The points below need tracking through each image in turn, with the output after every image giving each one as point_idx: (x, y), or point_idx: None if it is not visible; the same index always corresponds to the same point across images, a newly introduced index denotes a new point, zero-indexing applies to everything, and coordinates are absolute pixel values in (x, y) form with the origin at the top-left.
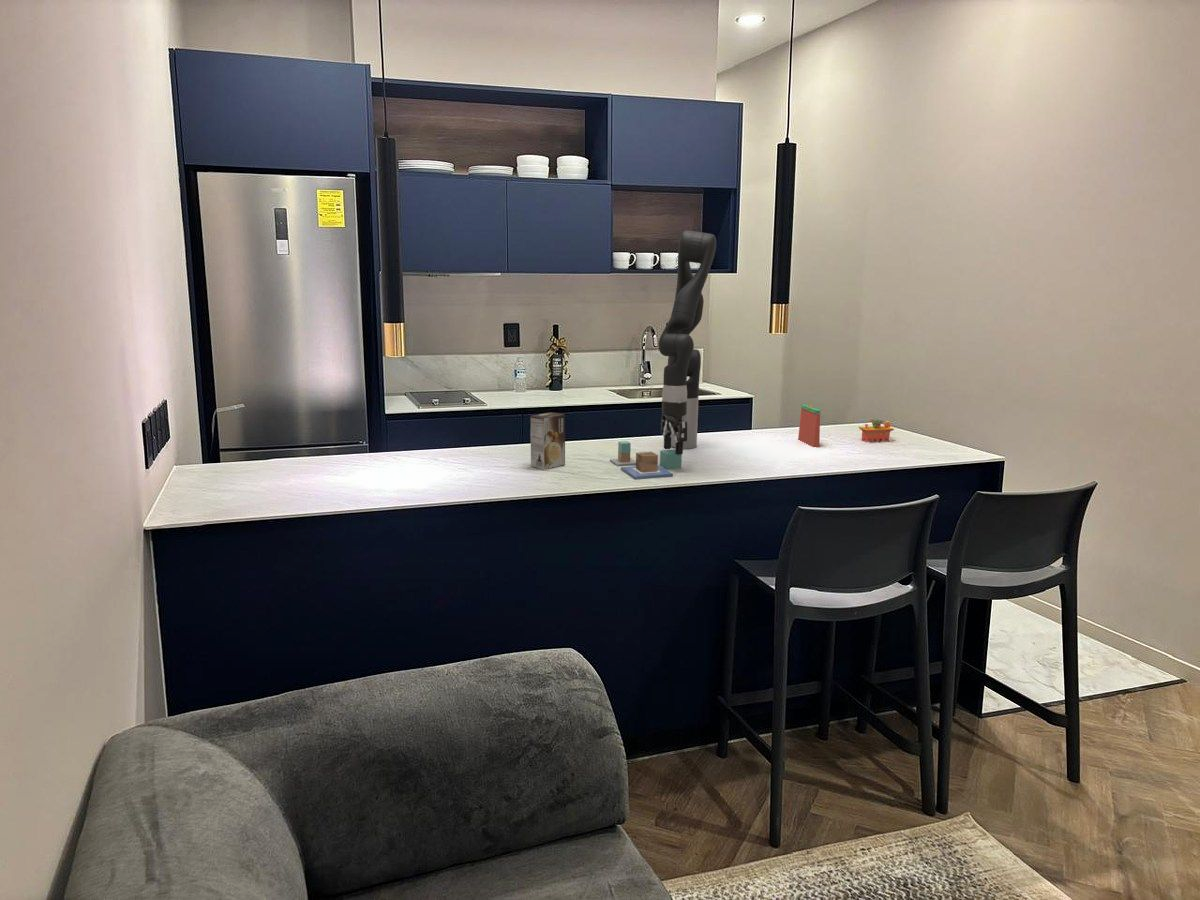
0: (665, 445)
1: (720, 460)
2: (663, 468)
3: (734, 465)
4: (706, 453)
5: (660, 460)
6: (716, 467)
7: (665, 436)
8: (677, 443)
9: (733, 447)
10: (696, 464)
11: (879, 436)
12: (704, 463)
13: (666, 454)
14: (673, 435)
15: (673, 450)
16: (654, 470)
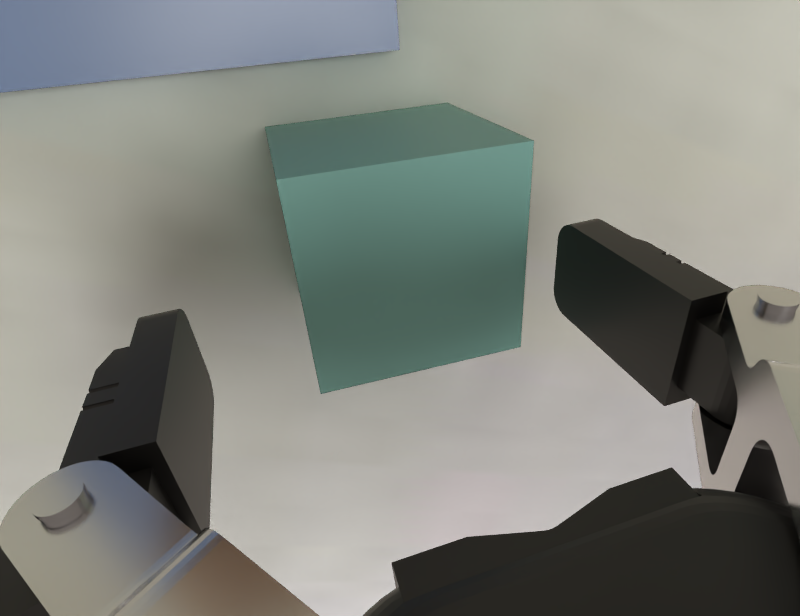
0: (590, 252)
1: None
2: (171, 65)
3: (340, 607)
4: None
5: (459, 115)
6: (301, 529)
7: (722, 324)
8: (115, 462)
9: None
10: (415, 424)
11: None
12: (430, 472)
13: (283, 174)
14: (180, 553)
15: (473, 319)
16: None
